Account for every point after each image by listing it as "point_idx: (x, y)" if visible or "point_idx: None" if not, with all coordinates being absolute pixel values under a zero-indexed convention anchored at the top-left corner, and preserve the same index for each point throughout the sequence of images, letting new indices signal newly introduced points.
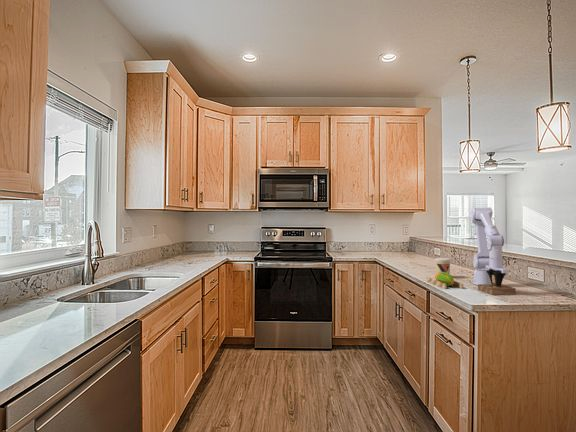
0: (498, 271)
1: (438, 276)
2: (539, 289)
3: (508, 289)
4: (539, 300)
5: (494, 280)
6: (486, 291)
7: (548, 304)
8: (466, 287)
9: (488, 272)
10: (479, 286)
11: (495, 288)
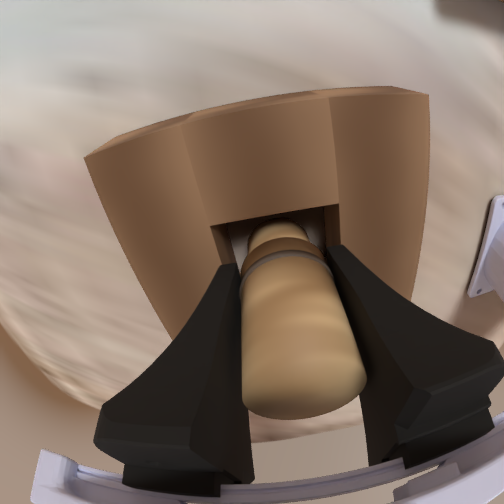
0: (154, 484)
1: None
2: (348, 419)
3: (164, 318)
4: (76, 356)
5: (253, 302)
6: (210, 110)
7: (20, 344)
8: (489, 48)
9: (423, 366)
10: (383, 92)
11: (126, 211)
